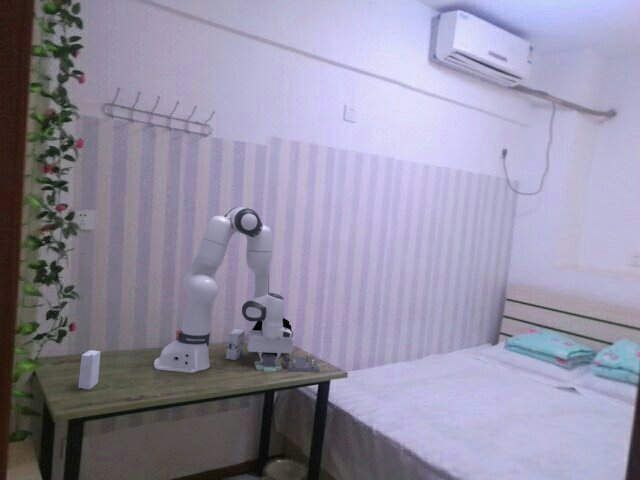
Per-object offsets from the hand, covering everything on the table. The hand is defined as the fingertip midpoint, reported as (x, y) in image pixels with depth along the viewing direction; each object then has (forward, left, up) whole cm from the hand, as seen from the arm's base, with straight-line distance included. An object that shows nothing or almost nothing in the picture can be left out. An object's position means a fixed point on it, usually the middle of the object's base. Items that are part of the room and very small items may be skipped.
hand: (268, 362), depth 213 cm
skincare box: (-67, -26, -2) cm, 72 cm away
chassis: (+15, +3, -2) cm, 16 cm away
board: (0, 0, -2) cm, 2 cm away
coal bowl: (+4, +22, -2) cm, 23 cm away
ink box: (-14, +12, -2) cm, 19 cm away
